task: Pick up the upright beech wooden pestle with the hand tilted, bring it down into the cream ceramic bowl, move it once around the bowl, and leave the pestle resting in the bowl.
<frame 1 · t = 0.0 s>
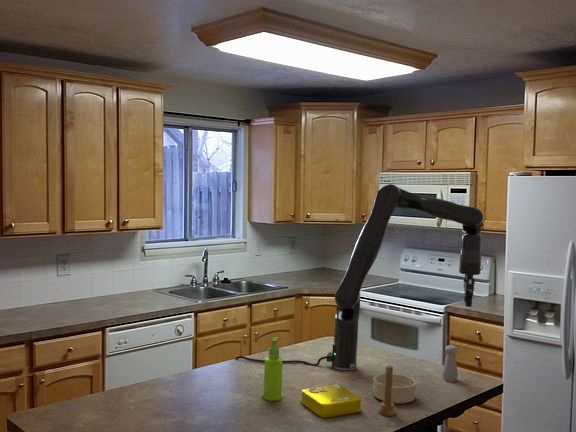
hand: (467, 304, 218), 29 cm above the countertop, tool pointing down, fingers open, 8 cm apart
element tile: (330, 407, 189), on the countertop
wooden pestle: (387, 413, 186), on the countertop
soap dispenser: (272, 397, 196), on the countertop
salt shaker: (449, 380, 221), on the countertop
bowl: (393, 397, 200), on the countertop
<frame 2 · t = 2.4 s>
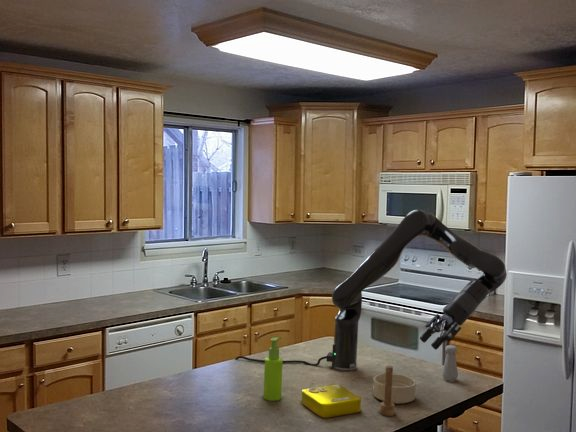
hand: (427, 344, 188), 22 cm above the countertop, tool tilted 45°, fingers open, 8 cm apart
nothing on the countertop moved.
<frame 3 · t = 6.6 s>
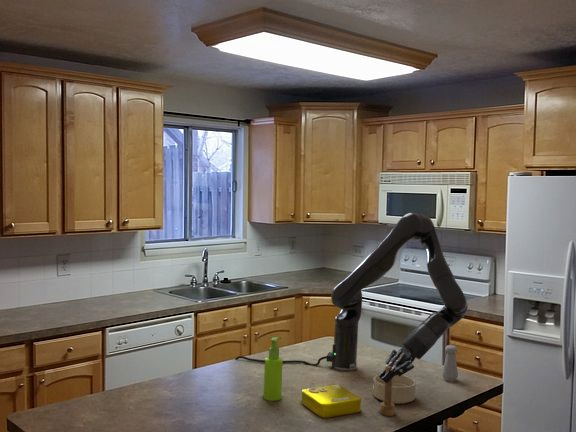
hand: (382, 379, 185), 11 cm above the countertop, tool tilted 45°, fingers closed on wooden pestle, 2 cm apart
wooden pestle: (387, 413, 186), on the countertop, touching gripper
everything else where it was.
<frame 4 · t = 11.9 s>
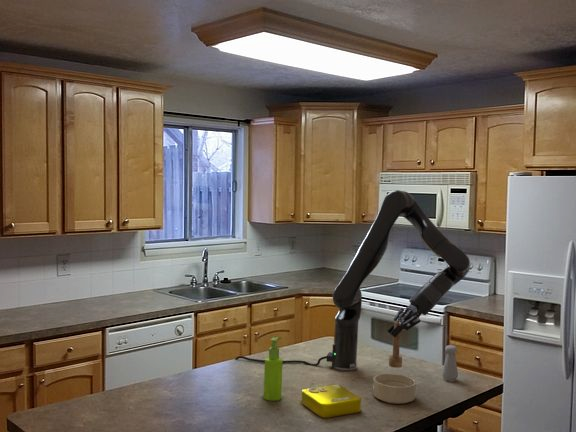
hand: (391, 334, 199), 22 cm above the countertop, tool tilted 45°, fingers closed on wooden pestle
wooden pestle: (395, 365, 200), point 11 cm above the countertop, touching gripper
everything else where it was.
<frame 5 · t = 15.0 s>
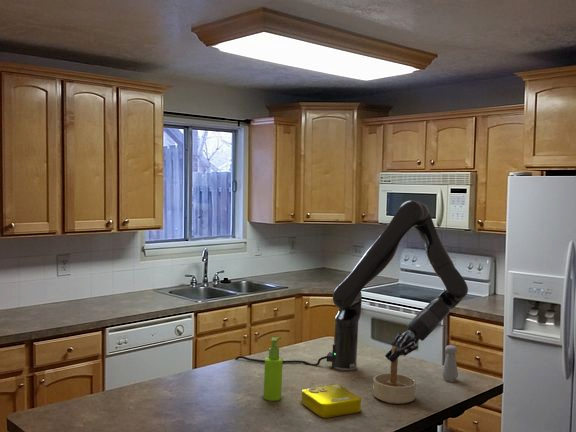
hand: (388, 359, 201), 13 cm above the countertop, tool tilted 45°, fingers closed on wooden pestle, 2 cm apart
wooden pestle: (392, 390, 202), point 2 cm above the countertop, touching gripper
everything else where it was.
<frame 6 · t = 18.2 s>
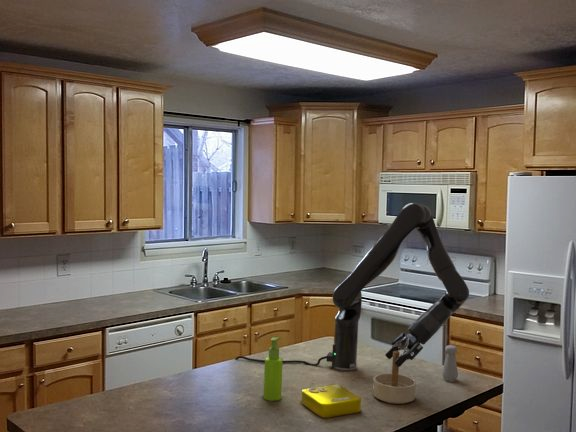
hand: (391, 361, 199), 13 cm above the countertop, tool tilted 45°, fingers open, 8 cm apart
wooden pestle: (394, 395, 200), point 1 cm above the countertop, touching bowl
everything else where it was.
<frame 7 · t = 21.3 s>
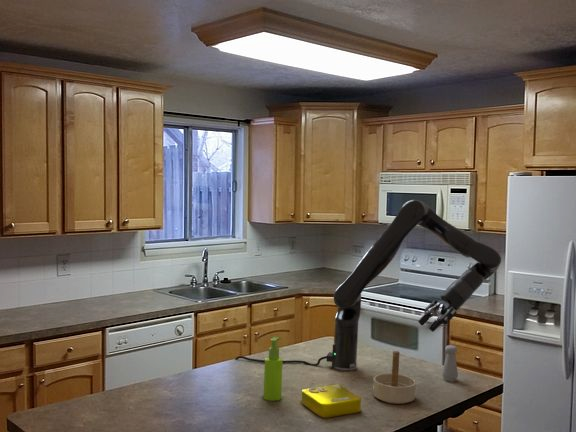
hand: (425, 326, 203), 24 cm above the countertop, tool tilted 45°, fingers open, 8 cm apart
nothing on the countertop moved.
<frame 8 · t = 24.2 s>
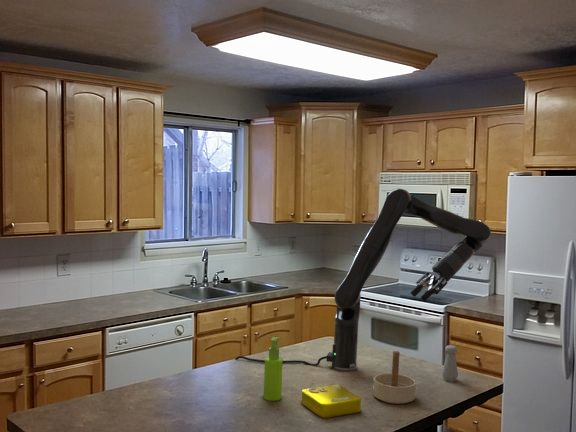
hand: (417, 297, 210), 33 cm above the countertop, tool tilted 45°, fingers open, 8 cm apart
nothing on the countertop moved.
at the end: wooden pestle inside the target area in the bowl (0.1 cm from its centre), point 0.8 cm above the bowl's base; the gripper is holding nothing; wooden pestle moved 15.1 cm from its start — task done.
